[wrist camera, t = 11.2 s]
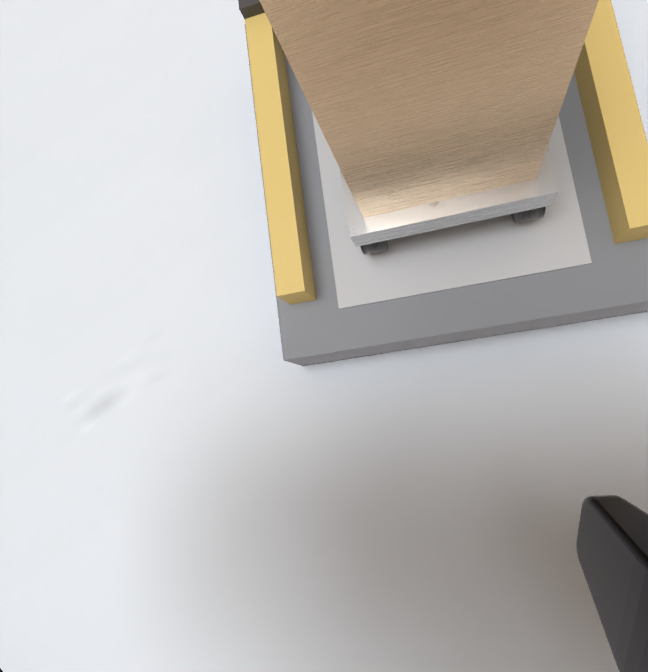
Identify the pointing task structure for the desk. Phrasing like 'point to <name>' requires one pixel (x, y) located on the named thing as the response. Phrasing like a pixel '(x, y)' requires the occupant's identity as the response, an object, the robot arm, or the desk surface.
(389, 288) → the dock
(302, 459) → the desk surface
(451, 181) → the trolley
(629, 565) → the robot arm
